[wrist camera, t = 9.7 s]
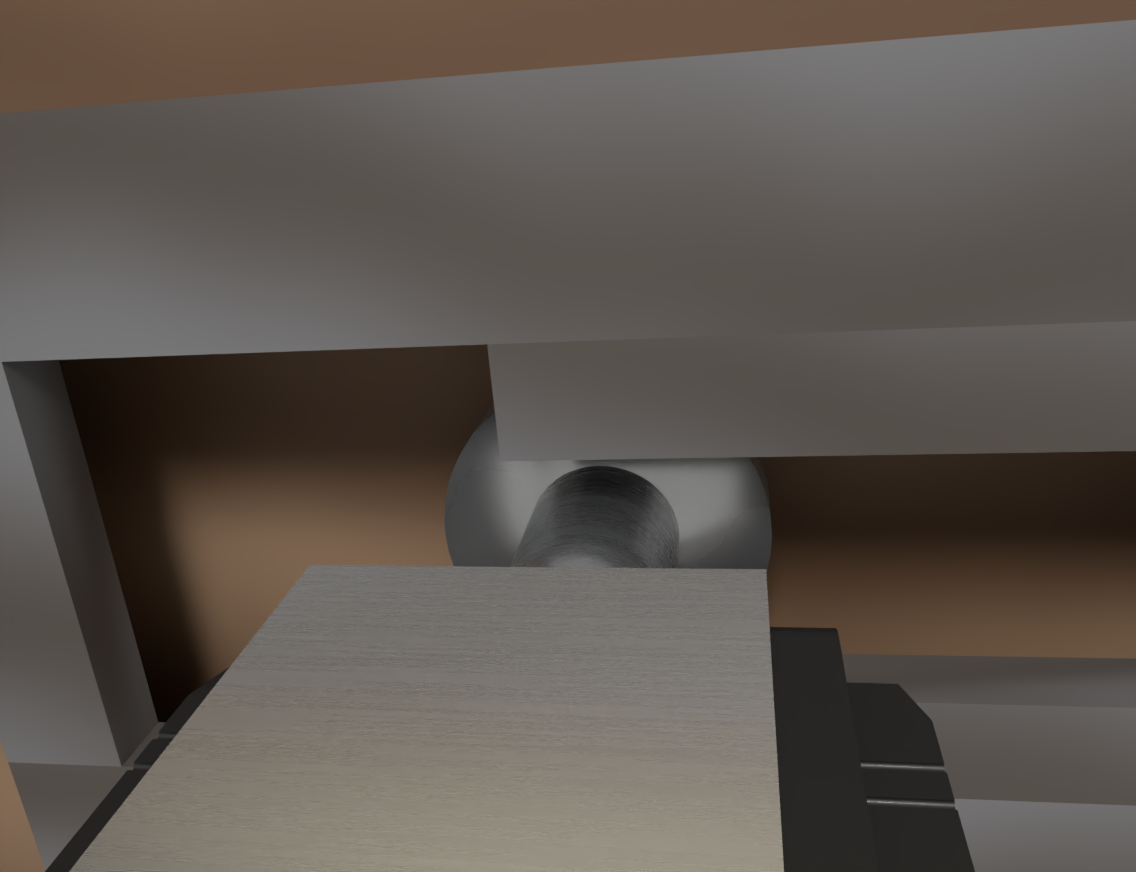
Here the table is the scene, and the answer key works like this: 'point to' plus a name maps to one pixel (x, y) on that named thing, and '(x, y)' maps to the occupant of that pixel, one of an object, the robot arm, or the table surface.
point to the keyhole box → (576, 342)
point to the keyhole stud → (498, 693)
